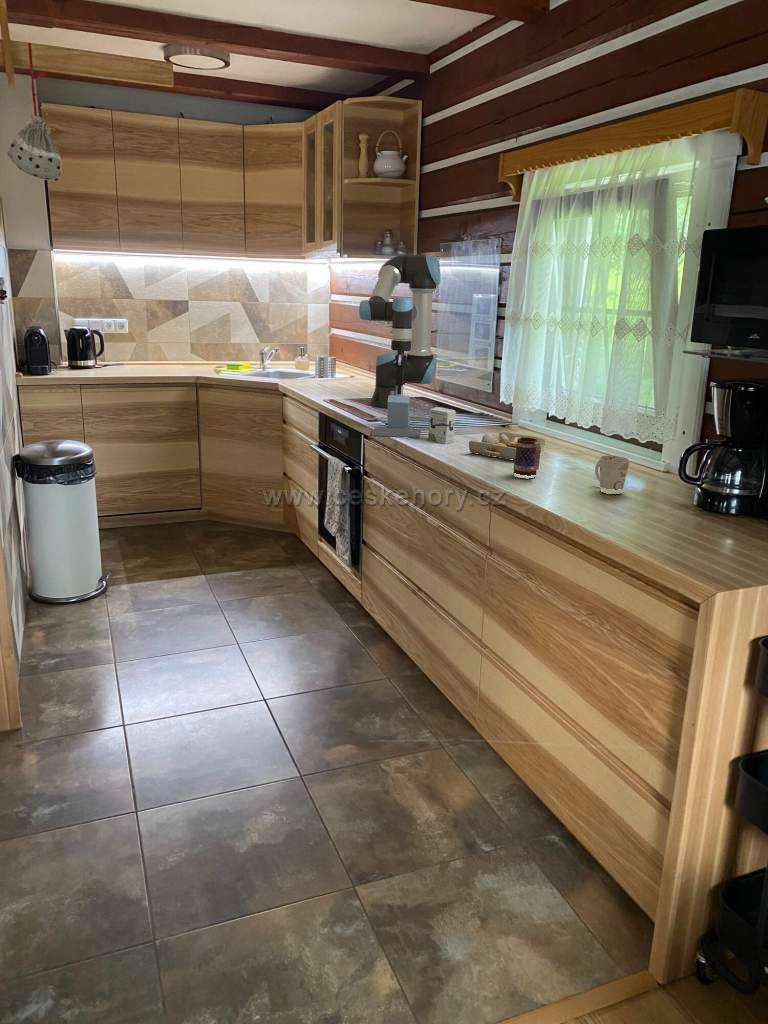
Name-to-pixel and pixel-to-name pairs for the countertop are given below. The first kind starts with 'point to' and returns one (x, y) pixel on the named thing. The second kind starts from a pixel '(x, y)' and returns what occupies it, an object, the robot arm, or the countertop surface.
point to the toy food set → (501, 444)
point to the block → (398, 411)
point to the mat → (396, 432)
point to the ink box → (442, 425)
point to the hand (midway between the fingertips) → (399, 402)
